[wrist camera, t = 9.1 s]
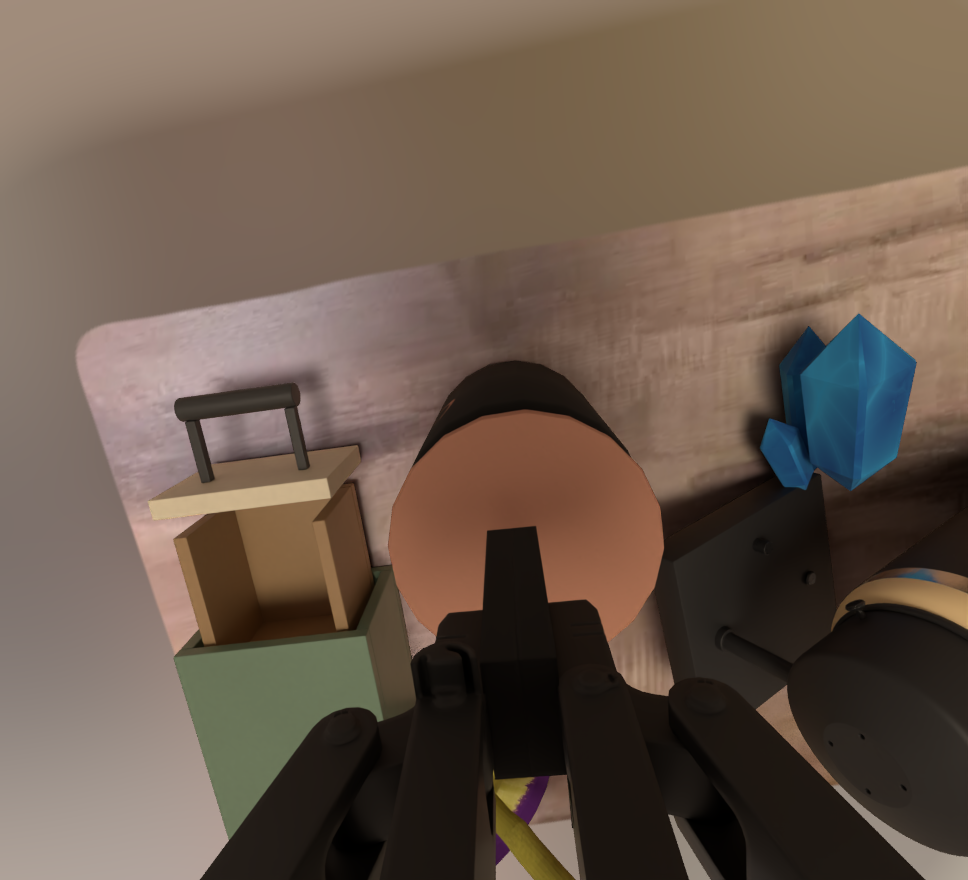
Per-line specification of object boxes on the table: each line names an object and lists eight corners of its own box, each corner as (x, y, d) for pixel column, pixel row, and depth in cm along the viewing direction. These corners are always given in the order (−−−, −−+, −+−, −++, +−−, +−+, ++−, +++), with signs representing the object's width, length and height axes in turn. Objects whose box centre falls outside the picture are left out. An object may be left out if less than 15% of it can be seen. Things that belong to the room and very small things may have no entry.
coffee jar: (434, 359, 39) (379, 412, 21) (596, 358, 38) (675, 411, 21) (438, 510, 41) (393, 669, 24) (590, 510, 41) (657, 671, 23)
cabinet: (239, 583, 43) (172, 657, 34) (393, 564, 42) (365, 635, 33) (280, 737, 46) (228, 842, 37) (424, 722, 46) (406, 825, 37)
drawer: (190, 389, 39) (120, 411, 32) (342, 368, 38) (306, 385, 31) (252, 626, 43) (203, 691, 36) (390, 610, 42) (369, 673, 35)
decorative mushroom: (529, 926, 29) (368, 733, 39) (509, 1066, 33) (369, 859, 44) (663, 783, 37) (501, 654, 47) (633, 911, 42) (491, 768, 52)
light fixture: (1259, 653, 32) (1028, 987, 22) (909, 555, 48) (681, 726, 38) (1285, 433, 29) (1024, 714, 19) (898, 405, 44) (643, 550, 34)
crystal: (771, 533, 35) (765, 346, 29) (750, 456, 42) (743, 295, 36) (919, 527, 32) (943, 322, 27) (870, 447, 39) (881, 272, 34)
